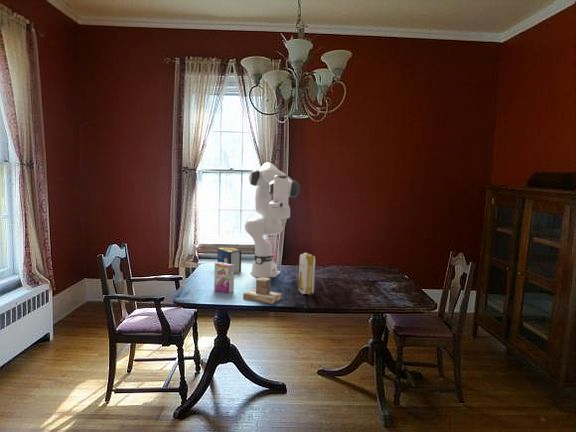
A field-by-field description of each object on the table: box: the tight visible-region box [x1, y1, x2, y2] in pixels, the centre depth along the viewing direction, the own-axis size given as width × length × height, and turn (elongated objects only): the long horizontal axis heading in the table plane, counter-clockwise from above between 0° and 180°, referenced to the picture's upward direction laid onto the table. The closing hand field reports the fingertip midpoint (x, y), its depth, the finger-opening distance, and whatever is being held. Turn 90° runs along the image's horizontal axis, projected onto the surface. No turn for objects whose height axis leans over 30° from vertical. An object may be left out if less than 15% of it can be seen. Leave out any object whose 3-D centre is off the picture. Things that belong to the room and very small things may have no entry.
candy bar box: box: [213, 261, 235, 294], centre depth 249 cm, size 11×5×16 cm, turn 59°
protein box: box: [217, 246, 242, 274], centre depth 300 cm, size 10×15×16 cm
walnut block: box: [255, 277, 271, 295], centre depth 238 cm, size 5×6×8 cm
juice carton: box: [297, 252, 316, 295], centre depth 252 cm, size 9×8×24 cm
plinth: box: [242, 287, 283, 305], centre depth 239 cm, size 12×18×3 cm, turn 64°
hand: (279, 227), depth 246 cm, fingers open, 8 cm apart
